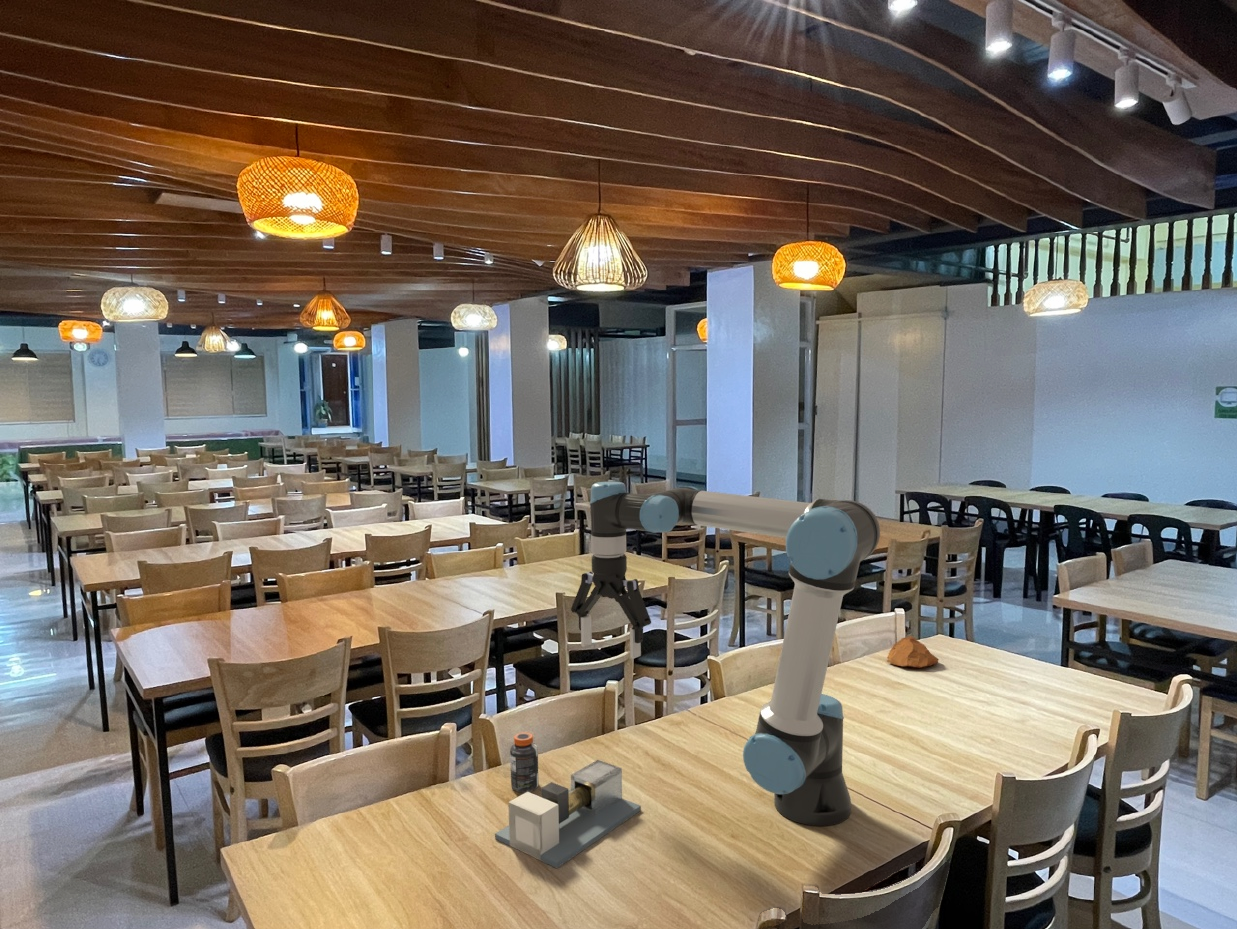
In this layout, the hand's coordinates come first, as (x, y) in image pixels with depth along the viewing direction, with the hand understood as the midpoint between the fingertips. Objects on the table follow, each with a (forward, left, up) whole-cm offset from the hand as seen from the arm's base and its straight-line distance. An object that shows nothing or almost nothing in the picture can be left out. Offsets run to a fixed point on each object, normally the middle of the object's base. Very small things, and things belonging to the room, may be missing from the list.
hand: (610, 651), depth 174 cm
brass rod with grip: (-5, +21, -26) cm, 34 cm away
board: (-5, +20, -29) cm, 35 cm away
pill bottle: (+13, +14, -29) cm, 35 cm away
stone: (-27, -114, -29) cm, 121 cm away
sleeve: (-5, +11, -28) cm, 30 cm away
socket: (-5, +30, -29) cm, 41 cm away
